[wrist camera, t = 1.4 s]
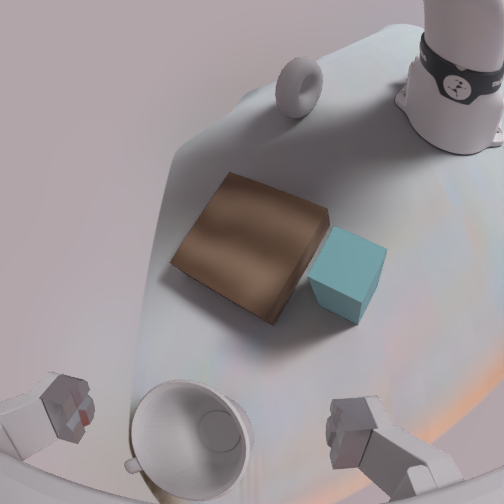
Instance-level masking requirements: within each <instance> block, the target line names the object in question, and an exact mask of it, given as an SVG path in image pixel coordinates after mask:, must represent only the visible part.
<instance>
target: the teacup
mask: <svg viewBox="0 0 504 504" xmlns="http://www.w3.org/2000/svg"><path fill="white" fill-rule="evenodd" d="M131 437H132V444H133V449H134V452H135V455H136V457H135V458H132V459H130V460H128V461H126V462H125V464H124V465H125V468H126V470H127V471H128V472H129V473H131V474H133V473H137V472H140V471H143V470H144V472H145V473H146V474H147V476H148V477H149V478H150V479H151V480H152V481H153V482H154V483H155V484H156V485H157V486H158V487H160V488H161V489H163V490H164V491H166V492H168V493H169V494H171V495H174V496H176V497H179V498H182V499H186V500H193V501H205V500H212V499H215V498H218V497H220V496H222V495H224V494H226V493H228V492H229V491H230V490H232V489H233V488H234V487H235V486H236V485H237V484H238V482H239V481H240V480H241V478H242V476H243V475H244V473H245V470H246V468H247V465H248V461H249V455H250V452H251V450H252V447H253V442H254V431H253V426H252V423H251V421H250V419H249V417H248V415H247V414H246V412H245V411H244V410H243V408H242V407H241V406H240V405H238V404H237V403H236V402H235V401H233V400H232V399H230V398H228V397H225V396H223V395H222V394H221V393H219V392H218V391H217V390H215V389H213V388H212V387H210V386H208V385H205V384H203V383H200V382H196V381H191V380H173V381H168V382H165V383H162V384H160V385H158V386H156V387H154V388H153V389H151V390H150V391H149V392H148V393H147V394H146V395H145V396H144V397H143V399H142V400H141V401H140V403H139V405H138V406H137V408H136V411H135V413H134V417H133V420H132V427H131Z"/></svg>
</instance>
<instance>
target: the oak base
mask: <svg viewBox="0 0 504 504" xmlns="http://www.w3.org/2000/svg"><path fill="white" fill-rule="evenodd" d="M329 226H330V222H329V215H328V209H326V208H324V207H322V206H319V205H317V204H314V203H311V202H309V201H306V200H304V199H301V198H299V197H296V196H294V195H291V194H288V193H286V192H283V191H280V190H278V189H275V188H272V187H270V186H267V185H264V184H262V183H259V182H256V181H253V180H251V179H248V178H245V177H242V176H239V175H237V174H234V173H231V172H229V174H228V175H227V177H226V178H225V180H224V181H223V182H222V184H221V185H220V187H219V188H218V190H217V191H216V193H215V194H214V196H213V197H212V199H211V200H210V201H209V203H208V204H207V206H206V207H205V209H204V210H203V212H202V213H201V215H200V216H199V218H198V219H197V221H196V222H195V224H194V226H193V227H192V229H191V230H190V232H189V233H188V235H187V236H186V238H185V239H184V241H183V242H182V244H181V246H180V247H179V249H178V250H177V252H176V253H175V255H174V257H173V258H172V260H171V261H170V263H171V264H172V265H174V266H175V267H176V268H178V269H179V270H181V271H182V272H184V273H185V274H187V275H188V276H190V277H192V278H193V279H195V280H197V281H198V282H200V283H202V284H203V285H205V286H206V287H208V288H210V289H211V290H213V291H215V292H217V293H218V294H220V295H222V296H223V297H225V298H227V299H228V300H230V301H232V302H233V303H235V304H237V305H239V306H240V307H242V308H244V309H245V310H247V311H249V312H251V313H252V314H254V315H256V316H258V317H259V318H261V319H263V320H265V321H266V322H268V323H270V324H272V325H274V323H275V322H276V320H277V318H278V317H279V315H280V313H281V311H282V310H283V308H284V306H285V305H286V303H287V301H288V299H289V298H290V296H291V294H292V292H293V291H294V289H295V287H296V285H297V284H298V282H299V280H300V278H301V277H302V275H303V273H304V271H305V269H306V268H307V266H308V264H309V262H310V261H311V259H312V257H313V255H314V253H315V251H316V250H317V248H318V246H319V244H320V242H321V240H322V239H323V237H324V235H325V233H326V231H327V229H328V227H329Z"/></svg>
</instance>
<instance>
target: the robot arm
mask: <svg viewBox="0 0 504 504" xmlns="http://www.w3.org/2000/svg"><path fill="white" fill-rule="evenodd" d="M423 1H424V12H425V13H424V14H425V31H424V32H423V34H422V36H421V41H420V54H417V55H416V58H415V61H412V63H411V65H410V66H409V72H408V80H407V84H406V85H405V86H404V87H403V88H402V89H401V91H400V92H399V93H398V94H397V95H396V99H395V102H396V104H397V105H398V106H399V107H400V108H401V109H402V110H403V111H404V112H405V113H406V114H407V116H408V118H409V121H410V123H411V124H412V126H413V128H414V129H415V130H416V131H417V132H418V133H419V135H421V136H422V137H423V138H424V139H425V140H427V141H428V142H429V143H431V144H433V145H434V146H436V147H438V148H440V149H443V150H445V151H448V152H452V153H457V154H473V153H477V152H480V151H482V150H483V149H485V148H487V147H489V146H501V145H502V144H503V141H504V134H503V128H502V122H501V117H502V114H503V111H504V99H503V94H502V91H501V89H500V86H501V82H502V81H503V78H504V1H503V0H423ZM89 390H90V389H89V386H88V382H87V381H85V380H83V379H79V378H75V377H70V376H67V375H63V374H58V373H55V372H48V373H47V374H46V375H45V376H44V377H43V378H42V379H41V380H40V381H39V382H38V384H37V385H36V386H35V387H34V388H33V389H32V390H31V391H30V392H29V393H28V394H27V395H26V394H22V395H19V396H16V397H14V398H11V399H8V400H5V401H2V402H0V504H153V503H149V502H144V501H139V500H135V499H130V498H126V497H122V496H118V495H114V494H111V493H107V492H103V491H100V490H97V489H93V488H90V487H87V486H84V485H81V484H78V483H75V482H72V481H69V480H66V479H63V478H61V477H58V476H55V475H53V474H50V473H48V472H45V471H43V470H40V469H38V468H36V467H33V466H31V465H29V464H27V463H24V462H22V461H23V460H25V459H27V458H28V457H30V456H32V455H33V454H35V453H37V452H38V451H40V450H42V449H43V448H45V447H47V446H48V445H50V444H52V443H53V442H55V441H56V440H58V438H59V439H62V440H66V441H69V442H73V443H76V444H78V443H79V441H80V440H81V438H82V437H83V435H84V433H85V429H84V427H85V426H87V425H89V424H90V423H91V422H92V420H93V417H94V412H95V407H94V403H93V399H92V398H91V397H90V396H89V395H88V392H89ZM330 411H331V416H330V417H329V418H328V419H327V424H326V440H327V445H328V446H330V447H331V451H330V459H331V463H332V467H333V469H345V468H356V467H359V469H360V470H361V471H362V472H363V473H364V474H365V475H366V476H367V477H368V478H369V479H371V480H372V481H373V482H374V483H375V484H376V485H377V486H378V487H379V488H381V489H382V490H383V491H384V492H385V493H386V494H387V495H389V496H390V497H391V499H390V500H389V502H387V503H383V504H504V465H503V466H501V467H499V468H496V469H494V470H492V471H489V472H487V473H484V474H482V475H479V476H477V477H474V478H471V479H469V480H466V481H465V480H464V479H463V477H462V475H461V473H460V471H459V470H458V468H457V466H456V464H455V463H454V461H453V459H452V457H451V456H450V455H448V454H446V453H444V452H442V451H440V450H439V449H437V448H435V447H433V446H431V445H430V444H428V443H426V442H424V441H423V440H421V439H419V438H417V437H416V436H414V435H412V434H410V433H409V432H407V431H405V430H404V429H402V428H400V427H398V426H393V424H392V422H391V420H390V418H389V416H388V414H387V412H386V410H385V408H384V406H383V404H382V402H381V400H380V398H379V396H377V395H376V396H367V397H360V398H347V399H333V400H332V402H331V406H330Z"/></svg>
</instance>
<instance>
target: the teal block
mask: <svg viewBox="0 0 504 504" xmlns="http://www.w3.org/2000/svg"><path fill="white" fill-rule="evenodd" d="M386 252H387V249H386V248H384V247H382V246H379V245H377V244H375V243H373V242H370V241H368V240H366V239H364V238H361V237H359V236H357V235H355V234H352V233H350V232H348V231H345V230H343V229H341V228H338V227H336V226H334V228H333V229H332V231H331V233H330V235H329V237H328V239H327V241H326V243H325V244H324V246H323V248H322V250H321V252H320V254H319V256H318V257H317V259H316V261H315V263H314V265H313V266H312V268H311V270H310V272H309V274H308V275H307V277H308V279H309V282H310V284H311V287H312V289H313V292H314V294H315V296H316V299H317V301H318V304H319V306H321V307H323V308H325V309H327V310H329V311H331V312H333V313H335V314H337V315H339V316H341V317H343V318H345V319H347V320H349V321H351V322H353V323H355V324H357V325H358V324H359V322H360V320H361V318H362V316H363V314H364V312H365V310H366V308H367V306H368V304H369V302H370V300H371V298H372V296H373V294H374V292H375V290H376V288H377V285H378V282H379V278H380V275H381V271H382V268H383V264H384V260H385V256H386Z"/></svg>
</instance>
